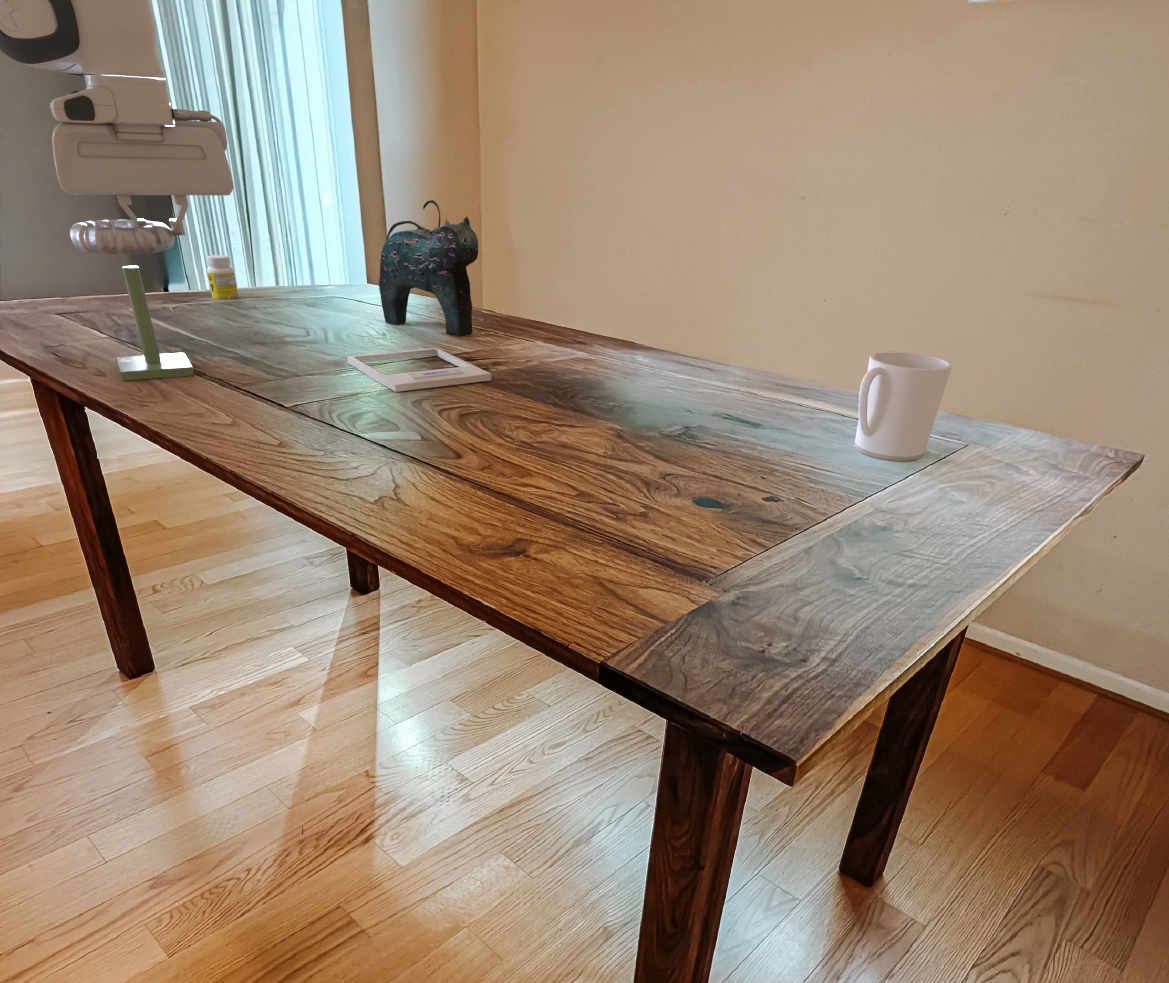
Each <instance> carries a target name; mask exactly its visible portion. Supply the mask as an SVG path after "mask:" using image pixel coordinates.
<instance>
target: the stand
mask: <svg viewBox="0 0 1169 983" xmlns="http://www.w3.org/2000/svg"><path fill="white" fill-rule="evenodd" d="M121 270H122V274H123V278H124V282H125V285H126V289H127V294H128V297H129V298H128V299H129V302H130V306H131V310H132V314H133V318H134V322H135V325H136V330H137V333H138V339H139V342H140V347H141V349H142V350H141V351H142V353H143V355H130V356H129V355H128V356H116V357H115V360H116V364H117V367H118V371H119V375H120V378H121V381H122V382H128V381H129V382H130V381H141V380H154V379H156V380H157V379H168V378H181V377H192V376H193V377H194V376H195V373H194V368H193V366H192V364H191V362H190V360H189V359H188V357H187V355H186V354H185V352H175V353H160V351H159V350H160V349H159V346H158V341H157V338H156V333H155V329H154V325H153V321H152V317H151V312H150V308H149V305H148V301H147V296H146V292H145V288H144V282H143V279H142V275H141V271H140V267H139V266H138V265H123V266H122V267H121Z"/></svg>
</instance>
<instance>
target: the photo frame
mask: <svg viewBox="0 0 1169 983" xmlns="http://www.w3.org/2000/svg"><path fill="white" fill-rule="evenodd" d="M431 356H436V357H438V358H440V359H442V360H444V361H446V362H448V363H450V364H452V365H454V366H456V367H448V368H447V367H446V368H439V369H437V368H436V369H429V370H420V371H411V372H409V371H408V372H402V373H393V374H383V373H381V372H379V371H378V370H376V369H374V368H372V367H371V366H369V365H367V364H366V363H371V362H383V361H392V360H393V361H394V360H401V359H412V358H422V357H431ZM346 358H347V359H346V360H347V364H349V365H351V366H353V367H354V368H355V369H357V370H359V371H360V372H362V373H364V375H367V376H368V377H371V378H372V379H374V380H375V381H376V382H379V383H380V384H382V385H383V386H385V387H387V388H388V389H390V390H391V391H393V392H394V393H398V392H406V391H414V390H422V389H430V388H439V387H446V386H447V387H448V386H456V385H465V384H471V383H472V384H473V383H479V382H490V381H492V373H490V372H488V371H486V370H484V369H482V368H480V367H479V366H476V365H474V364H472V363H470V362H468V361H466V360H463V359H461V358H459V357H457V356H455V355H453V354H450V353H448V352H446V351H445V350H443V349H441V348H438V347H430V348H419V349H410V350H409V349H408V350H400V351H399V350H398V351H389V352H388V351H387V352H378V353H368V354H358V355H348V356H347V357H346Z"/></svg>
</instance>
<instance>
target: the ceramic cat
mask: <svg viewBox="0 0 1169 983" xmlns="http://www.w3.org/2000/svg"><path fill="white" fill-rule="evenodd" d="M429 204H433V205H434V206H435V207H436V209H437V213H438V224H437V227H436V228H434V229H433V230H431V229H429V228H425V227H423V226H421V225H420V224H418V223H417V222H414V221H412V220H401V221H398V222H396V223H393V224H392V226H390V228H389V230H388V232H387V235H386V240H385V242H384V244H383V246H382V249H381V253H380V260H379V278H378V291H379V295H380V304H381V308H382V312H383V317H384V321H385V323H386V324H390V325H395V326H396V325H397V326H399V325H404V324H406V323H407V313H408V312H407V310H408V305H409V304H408V303H409V296H410V293H411V290H412V289H417V290H421V291H424V292H428V293H431V294H433V295H434V296H435V297H436V299H437V301H438V304H439V305H440V307H441V310H442V312H443V315H444V320H445V321H444V322H445V334H446V335H455V336H459V337H463V336H467V335H471V334H473V318H472V317H473V316H472V315H473V301H472V298H471V296H472V295H471V282H470V278H469V274H468V270H467V267H468V266H470V265H472V264H473V263H474V262H475V261H476V260H478V256H479V239H478V235H477V233H475V231H474V230H473V229H472V226H471V221H470V219H469V217H468V216H465V217H464V218H463V219H462V220H461V221H460V222H459V223H456V224H454V223H450V222H449V220H448V219H445V221H444V223H443V225H441V210H440V207H439V206H440V205H439V204H438V203H437V202H436V201H435V200H433V199H429V200H426V202H425V203H424V204H423V206H422V209H423V210H425V209H426V207H427V206H428V205H429ZM406 224H410V225H413V226H415V227H416V229H406V230H400V231H399V230H398V231H395V232H394V233H392V232H393V231H394V230H395V228H396V227H398V226H401V225H402V226H403V225H406ZM391 233H392V234H391Z"/></svg>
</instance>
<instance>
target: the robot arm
mask: <svg viewBox="0 0 1169 983" xmlns="http://www.w3.org/2000/svg"><path fill="white" fill-rule="evenodd" d="M152 13H153V12H152V9H151V5H150V1H149V0H0V51H1V52H2V53H3V54H4V55H6V56H7V57H8V58H10V59H12V60H14V61H16V62H18V63H21V64H23V65H25V66H28V67H31V68H35V69H40V70H41V69H42V70H46V71H50V72H57V73H65V74H70V75H72V76H75V77H79V78H82V79H84V81H85V89H83V90H78V89H77V90H73V91H70V94H67V95H63V96H60V97H56V98H54V99H52V100H51V101H50V103H49V107H50V111H51V114H52V117H53V118H54V119H55V120H56V121H57V122H60V123H58V124H57V125H55V127H54V128H53V131H52V134H51V145H52V153H53V154H52V155H53V161H54V166H55V172H56V178H57V180H58V184H59V187H60V188H61V189H62V190H63V191H64V192H66V194H68V195H81V196H82V195H87V196H88V195H89V196H90V195H91V196H93V195H94V196H95V195H98V196H102V195H103V196H104V195H105V196H108V195H109V196H116V197H117V201H118V204H119V206H120V207H121V208H122V210H123V211H124V212H125V213H126V215H127V216H128V217H129V219H130V220H133V225H134V227H139V226H147V224H146V221H147V220H146V219H144V218H138V217H137V216H136V214H135V213H134V212H133V211H132V210H131V208H130V207H129V206H132V205H133V203H132V198H131V196H172V197H173V201H174V204H175V205H177V206H178V208H177V212H176V215H175V218H169V219H168V222H169V226H170V229H171V230H172V232H173V234H174V236H185V235H186V232H185V227H184V222H183V221H184V219H185V216H186V213H187V211H188V207H189V202H188V197H187V196H230V195H231V194H232V192H233V191H234V187H235V186H234V180H233V176H232V172H231V168H230V164H229V160H228V157H227V154H226V151H227V148H228V139H227V131H226V128H225V125H224V123H223V122H222V121H221V119H219V118H218V117H217V116H216V115H213V114H211V112H210V111H208V110H202V109H201V110H200V109H199V110H189V109H188V110H187V109H181V108H179V109H177V108H172V106H171V101H170V97H169V91H168V86H167V81H166V77H165V76H166V75H165V73H164V71H163V69H162V67H161V65H160V62H159V58H158V55H157V54H158V53H157V33H156V27H155V22H154V18H153V14H152ZM212 120H214V121H212Z"/></svg>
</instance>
